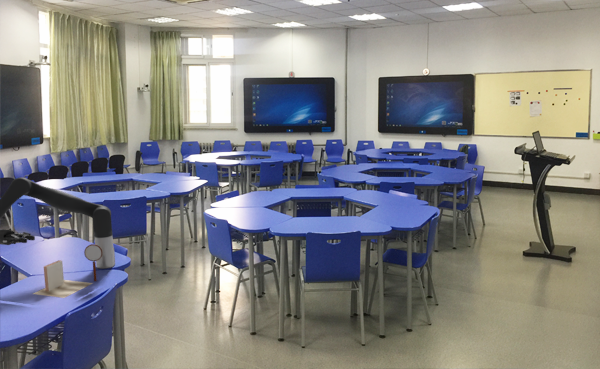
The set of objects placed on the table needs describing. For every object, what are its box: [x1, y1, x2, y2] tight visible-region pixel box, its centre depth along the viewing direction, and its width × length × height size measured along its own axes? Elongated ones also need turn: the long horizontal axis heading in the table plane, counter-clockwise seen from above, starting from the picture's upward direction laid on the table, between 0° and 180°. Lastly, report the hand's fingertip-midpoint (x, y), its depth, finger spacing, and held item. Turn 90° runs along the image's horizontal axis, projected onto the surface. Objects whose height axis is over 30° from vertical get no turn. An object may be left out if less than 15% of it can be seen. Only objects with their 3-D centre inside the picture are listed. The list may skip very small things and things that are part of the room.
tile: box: [43, 259, 65, 291], centre depth 252 cm, size 10×2×12 cm, turn 164°
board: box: [32, 279, 94, 299], centre depth 252 cm, size 20×18×1 cm
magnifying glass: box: [83, 243, 102, 282], centre depth 260 cm, size 9×2×20 cm, turn 95°
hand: (30, 239), depth 252 cm, fingers open, 4 cm apart
